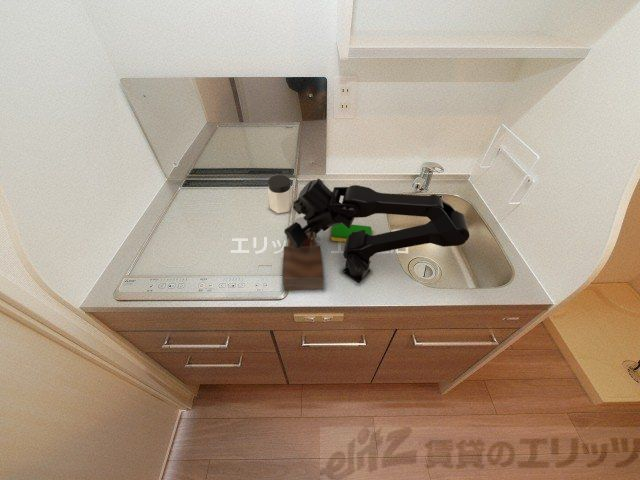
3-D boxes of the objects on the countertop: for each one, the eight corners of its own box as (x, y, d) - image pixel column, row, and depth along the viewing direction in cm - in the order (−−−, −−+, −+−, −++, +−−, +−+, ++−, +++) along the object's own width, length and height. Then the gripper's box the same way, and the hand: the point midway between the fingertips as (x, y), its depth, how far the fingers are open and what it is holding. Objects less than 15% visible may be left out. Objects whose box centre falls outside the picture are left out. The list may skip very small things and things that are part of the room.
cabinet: (284, 258, 88) (283, 246, 83) (319, 257, 89) (320, 245, 84) (283, 290, 79) (282, 278, 75) (322, 289, 80) (323, 277, 76)
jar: (288, 215, 103) (286, 189, 94) (267, 212, 104) (264, 186, 95) (294, 201, 109) (293, 175, 100) (274, 198, 110) (272, 172, 101)
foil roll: (312, 241, 91) (312, 219, 84) (306, 252, 87) (306, 230, 80) (297, 237, 92) (297, 215, 85) (291, 248, 88) (290, 226, 81)
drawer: (287, 227, 97) (286, 219, 94) (315, 227, 97) (315, 218, 94) (286, 261, 86) (285, 252, 83) (318, 260, 87) (318, 251, 83)
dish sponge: (370, 245, 94) (371, 240, 92) (331, 240, 94) (331, 235, 93) (370, 231, 98) (371, 226, 97) (332, 227, 99) (333, 222, 97)
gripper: (333, 176, 76) (304, 192, 89) (287, 207, 66) (262, 220, 78) (353, 209, 79) (321, 221, 91) (311, 244, 68) (283, 252, 81)
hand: (298, 227), depth 85 cm, fingers open, 9 cm apart
